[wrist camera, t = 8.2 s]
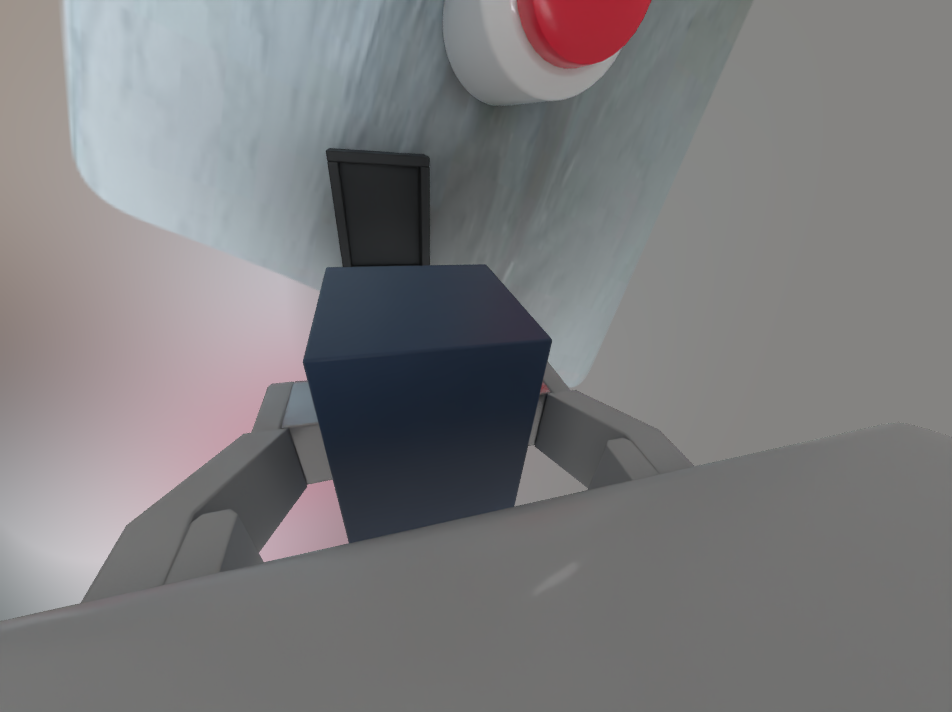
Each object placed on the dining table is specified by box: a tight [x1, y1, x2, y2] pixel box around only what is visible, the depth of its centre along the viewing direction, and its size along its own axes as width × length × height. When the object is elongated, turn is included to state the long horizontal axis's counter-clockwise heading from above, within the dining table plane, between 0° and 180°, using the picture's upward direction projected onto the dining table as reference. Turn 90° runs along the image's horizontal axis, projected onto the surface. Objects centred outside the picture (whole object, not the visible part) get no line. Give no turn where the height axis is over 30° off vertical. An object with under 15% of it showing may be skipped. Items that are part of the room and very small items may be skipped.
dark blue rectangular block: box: [303, 264, 552, 543], centre depth 9 cm, size 6×4×4 cm, turn 176°
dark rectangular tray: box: [326, 148, 430, 267], centre depth 25 cm, size 8×6×2 cm
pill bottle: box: [442, 0, 651, 106], centre depth 17 cm, size 8×8×11 cm
